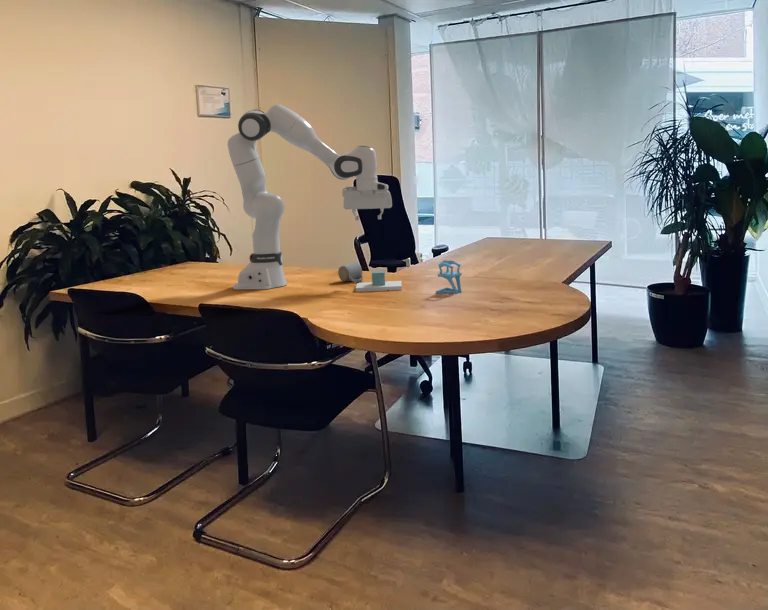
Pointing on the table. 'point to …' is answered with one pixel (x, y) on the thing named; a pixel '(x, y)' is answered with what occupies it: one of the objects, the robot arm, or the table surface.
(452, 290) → the chair
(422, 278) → the table surface
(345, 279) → the ceramic mug
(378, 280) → the teal block
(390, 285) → the grey board
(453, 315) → the table surface
